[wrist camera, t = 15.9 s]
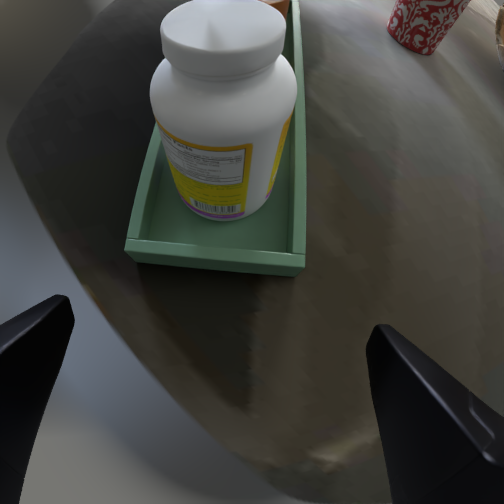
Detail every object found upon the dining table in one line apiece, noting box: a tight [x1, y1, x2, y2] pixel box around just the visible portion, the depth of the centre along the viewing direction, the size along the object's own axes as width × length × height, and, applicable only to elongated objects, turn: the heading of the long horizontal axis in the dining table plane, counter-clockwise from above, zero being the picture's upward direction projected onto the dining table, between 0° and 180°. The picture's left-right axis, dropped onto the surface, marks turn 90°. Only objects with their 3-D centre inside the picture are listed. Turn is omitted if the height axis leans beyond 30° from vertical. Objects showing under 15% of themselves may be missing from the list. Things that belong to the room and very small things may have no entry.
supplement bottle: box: [150, 0, 297, 221], centre depth 15 cm, size 7×7×13 cm
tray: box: [124, 0, 306, 277], centre depth 23 cm, size 32×11×3 cm, turn 176°
